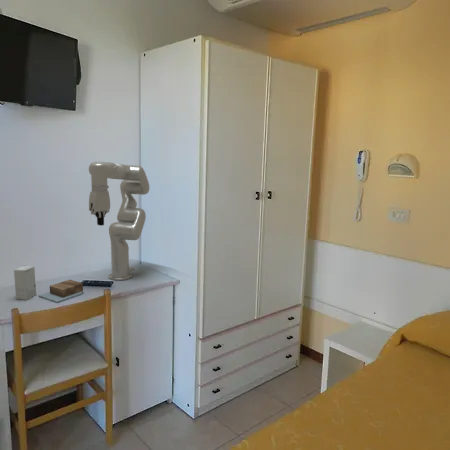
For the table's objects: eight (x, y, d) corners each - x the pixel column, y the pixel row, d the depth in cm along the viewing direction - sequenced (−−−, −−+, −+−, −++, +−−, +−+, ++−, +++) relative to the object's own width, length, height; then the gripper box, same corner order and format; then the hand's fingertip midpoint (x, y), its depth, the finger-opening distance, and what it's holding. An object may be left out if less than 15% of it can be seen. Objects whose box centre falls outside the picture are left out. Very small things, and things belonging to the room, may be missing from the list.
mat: (64, 288, 220) (64, 287, 220) (83, 294, 213) (83, 292, 213) (39, 296, 207) (38, 295, 207) (57, 303, 200) (57, 301, 200)
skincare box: (26, 300, 203) (24, 270, 200) (15, 299, 203) (13, 269, 201) (36, 294, 211) (35, 265, 208) (25, 293, 212) (23, 264, 209)
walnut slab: (69, 279, 219) (49, 285, 209) (82, 283, 214) (62, 289, 204) (70, 286, 220) (49, 293, 210) (83, 290, 215) (63, 297, 205)
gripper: (106, 186, 217) (107, 222, 220) (82, 189, 205) (83, 226, 208) (116, 188, 213) (117, 223, 216) (92, 190, 200) (93, 228, 204)
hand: (100, 224), depth 212 cm, fingers closed
